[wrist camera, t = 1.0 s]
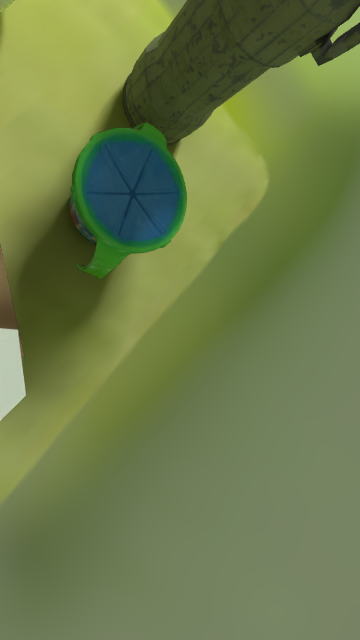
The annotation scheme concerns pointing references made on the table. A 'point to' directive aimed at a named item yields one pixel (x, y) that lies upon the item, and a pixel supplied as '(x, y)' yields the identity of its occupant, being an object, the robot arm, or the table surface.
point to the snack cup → (126, 195)
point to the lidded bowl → (5, 4)
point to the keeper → (7, 303)
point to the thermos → (227, 55)
